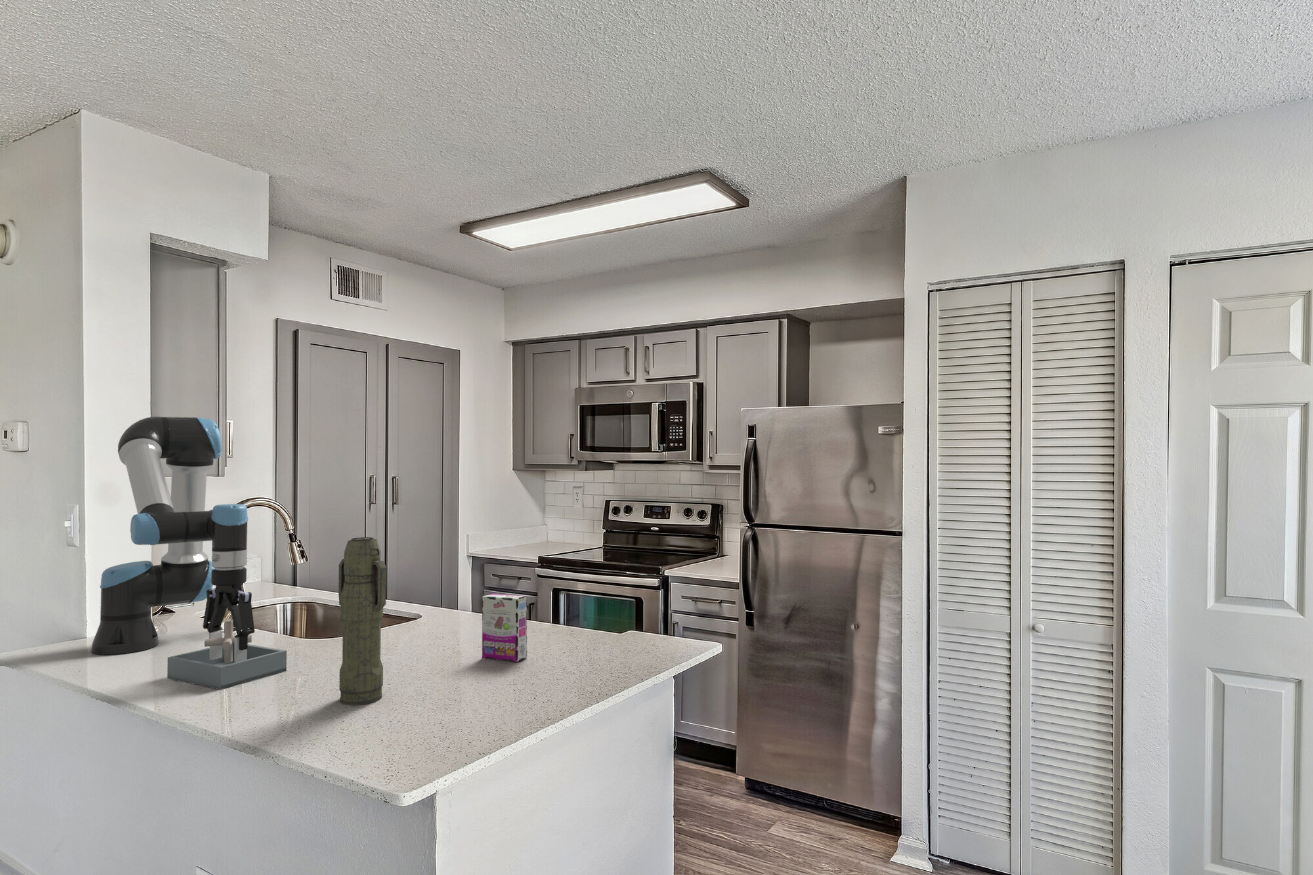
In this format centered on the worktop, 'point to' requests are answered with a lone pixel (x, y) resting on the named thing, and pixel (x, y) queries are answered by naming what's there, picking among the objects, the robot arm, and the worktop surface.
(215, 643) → the pipe connector
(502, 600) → the candy bar box
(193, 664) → the bin
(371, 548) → the thermos
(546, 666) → the worktop surface
